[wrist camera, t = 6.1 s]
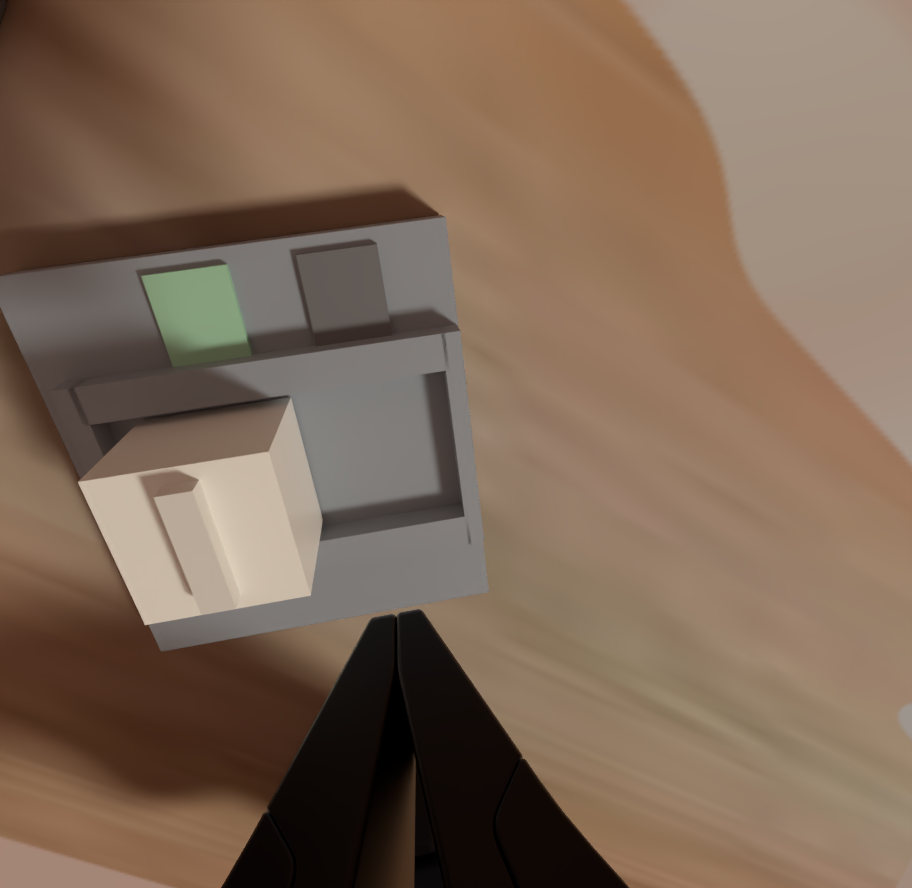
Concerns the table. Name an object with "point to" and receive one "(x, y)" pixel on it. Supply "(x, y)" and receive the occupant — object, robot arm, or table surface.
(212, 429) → the switch tab
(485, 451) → the table surface
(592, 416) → the table surface
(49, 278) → the switch board
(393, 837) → the robot arm
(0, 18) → the coaster
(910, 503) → the table surface
